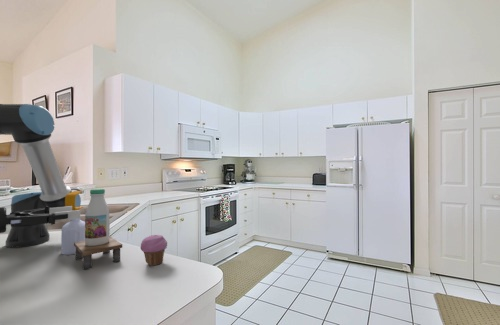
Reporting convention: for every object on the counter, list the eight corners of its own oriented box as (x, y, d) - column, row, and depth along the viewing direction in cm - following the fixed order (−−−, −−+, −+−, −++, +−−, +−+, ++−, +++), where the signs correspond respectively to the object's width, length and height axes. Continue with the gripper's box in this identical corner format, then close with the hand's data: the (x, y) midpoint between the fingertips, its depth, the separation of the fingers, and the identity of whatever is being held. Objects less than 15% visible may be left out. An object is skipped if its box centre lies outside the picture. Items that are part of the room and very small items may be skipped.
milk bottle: (92, 240, 94) (92, 188, 95) (113, 240, 95) (113, 188, 95) (80, 247, 87) (80, 190, 87) (103, 246, 87) (103, 189, 88)
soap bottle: (93, 247, 105) (93, 190, 105) (76, 255, 96) (76, 192, 96) (74, 247, 106) (74, 190, 106) (55, 254, 97) (55, 192, 97)
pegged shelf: (73, 258, 92) (74, 242, 92) (109, 250, 101) (109, 236, 101) (83, 270, 81) (83, 252, 81) (122, 260, 89) (122, 244, 89)
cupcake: (170, 264, 85) (170, 235, 86) (144, 271, 80) (144, 240, 80) (162, 257, 92) (162, 230, 93) (137, 262, 87) (137, 234, 87)
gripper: (-11, 227, 80) (69, 217, 95) (-16, 243, 62) (83, 228, 77) (-11, 204, 80) (69, 198, 95) (-16, 213, 63) (83, 204, 78)
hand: (75, 211), depth 86 cm, fingers open, 13 cm apart
